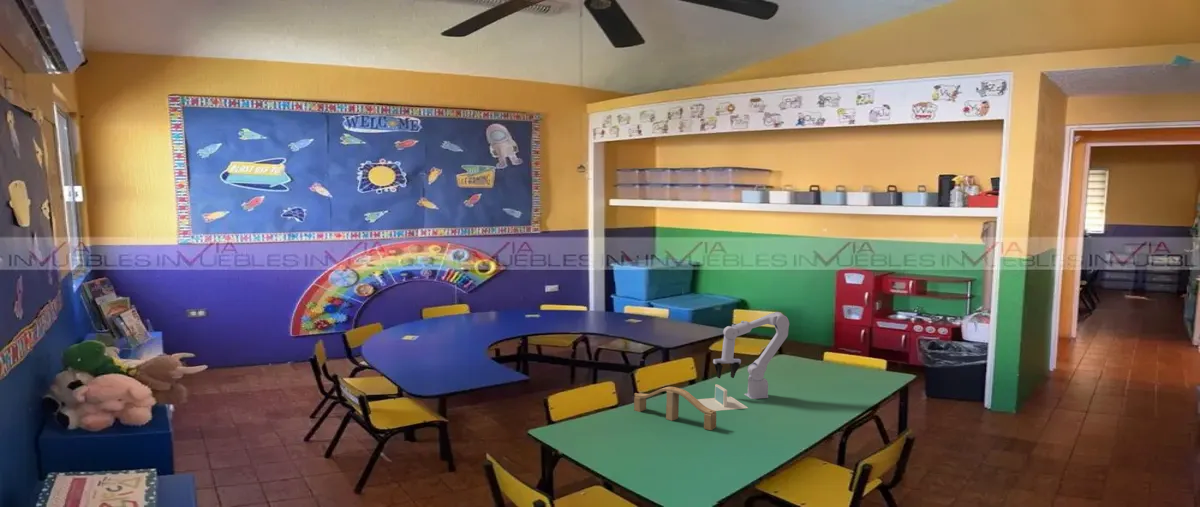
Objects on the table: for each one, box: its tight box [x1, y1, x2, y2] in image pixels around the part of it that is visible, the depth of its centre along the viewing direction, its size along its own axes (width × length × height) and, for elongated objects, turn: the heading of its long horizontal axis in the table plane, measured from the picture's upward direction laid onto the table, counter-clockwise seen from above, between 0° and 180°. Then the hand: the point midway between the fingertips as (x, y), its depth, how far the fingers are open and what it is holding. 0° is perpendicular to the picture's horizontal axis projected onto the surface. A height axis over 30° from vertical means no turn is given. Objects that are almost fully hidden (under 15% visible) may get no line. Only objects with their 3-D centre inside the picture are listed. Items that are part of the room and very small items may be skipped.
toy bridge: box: [633, 386, 717, 431], centre depth 319 cm, size 42×6×14 cm, turn 51°
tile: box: [714, 384, 728, 407], centre depth 340 cm, size 2×10×8 cm, turn 16°
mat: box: [696, 396, 749, 412], centre depth 340 cm, size 22×18×1 cm
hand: (725, 377), depth 352 cm, fingers open, 7 cm apart
